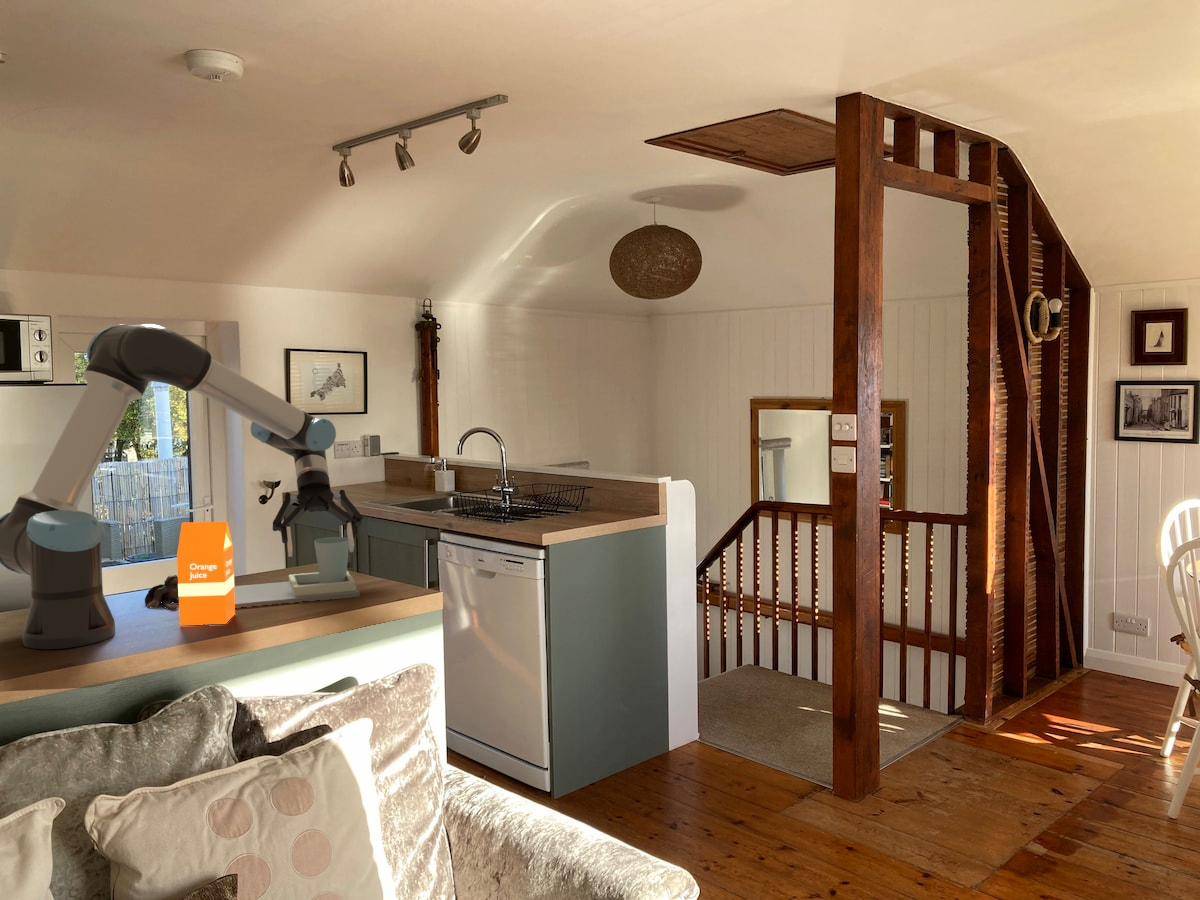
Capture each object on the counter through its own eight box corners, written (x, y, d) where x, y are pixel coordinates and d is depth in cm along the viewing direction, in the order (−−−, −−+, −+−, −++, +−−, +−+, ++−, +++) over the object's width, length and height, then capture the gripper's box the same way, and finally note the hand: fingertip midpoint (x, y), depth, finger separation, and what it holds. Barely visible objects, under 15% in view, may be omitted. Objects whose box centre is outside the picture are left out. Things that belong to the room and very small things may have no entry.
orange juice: (226, 625, 186) (222, 524, 185) (179, 626, 185) (175, 525, 183) (235, 614, 194) (232, 518, 192) (190, 616, 193) (186, 519, 191)
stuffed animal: (154, 609, 195) (140, 568, 202) (149, 641, 200) (135, 601, 207) (213, 599, 202) (197, 560, 209) (207, 630, 207) (191, 592, 214)
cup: (308, 586, 214) (306, 540, 213) (333, 579, 221) (333, 535, 220) (331, 590, 210) (330, 544, 209) (357, 583, 217) (356, 539, 216)
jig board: (233, 608, 198) (232, 594, 198) (230, 590, 214) (229, 577, 214) (359, 596, 209) (359, 583, 208) (347, 580, 224) (347, 568, 224)
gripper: (363, 485, 236) (375, 555, 224) (257, 490, 226) (263, 564, 214) (366, 466, 231) (378, 537, 218) (258, 470, 221) (264, 545, 209)
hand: (321, 551), depth 216 cm, fingers open, 13 cm apart
